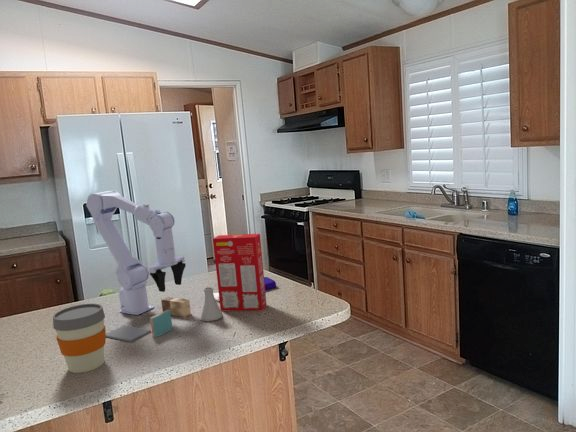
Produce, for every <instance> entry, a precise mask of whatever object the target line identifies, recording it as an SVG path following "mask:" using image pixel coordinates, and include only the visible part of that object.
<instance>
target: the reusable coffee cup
mask: <svg viewBox="0 0 576 432" xmlns="http://www.w3.org/2000/svg"><path fill="white" fill-rule="evenodd" d="M105 318H106V315H105V311H104V307H103V305H102V304H100V303H83V304H77V305H72V306H69V307H66V308H63V309H60V310H58V311H57V312H55V313H54V314H53V316H52V327H53V329H54V330H55V333H56V341H57V345H58V347H59V350H60V353H61V355H62V356H63V358H64V360H65V363H66V364H65V365H66V366H67V369H68V371H69V372H70V373H73V374H79V373H80V374H81V373H87V372H91V371H92V370H95V369H99V368H100V367H101V366H102V365H104V363H105V345H106V343H107V342H106V341H107V340H106V339H107V337H106V324H105V322H104V321H105V320H104V319H105Z"/></svg>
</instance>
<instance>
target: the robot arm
mask: <svg viewBox="0 0 576 432" xmlns="http://www.w3.org/2000/svg"><path fill="white" fill-rule="evenodd" d="M85 206H86V208H87V210H88V212H89V213H90V214H91V217H92V219H93V220H92V221H93V223H94V225H95V227H96V228H97V230H98V232H99V234H100V236H101V237H102V240H104V242H105V244H106V245H107V248H108V249H109V252H110V253H111V254H112V255H111V256H113V258H114V260H115V262H116V264H117V267H116V269H115V271H114V272H115V274H116V276H117V281H118V283H119V286H121V288H120V290H119V292H118V296H119V305H120V310H119V311H118V312H119V313H123V314H130V315H136V316H138V315H140V314H143V313H145V312H147V311H150V310H152V309H153V308H155V305H149V298H148V292H147V283H148V281H147V280H148V279H149V278H150V276H151V278H152V279H153V281H154V282H155V285H156V286H157V289H158V291H159V292H162V293H163V292H164V293H165V292H166V283H165V282H166V274H167V272H166V271H163V270H164V269H167V268H171V272H172V274H173V281H174V284H175V285H176V286H177V285H178V286H181V285H182V280H183V274H184V270H185V268H186V266H187V265H186V262H185V256H184V255H180V256H176V252H175V243H174V235H173V227H174V225H175V217H174V216H173V215H172V213H170V212H169V211H163V212H162V211H161V210H160V209H155V208H153V207H151V206H150V205H149V203H141V204H137V203H135V202H134V201H132V200H130V199H128V198H127V197H124V196H123V195H121V193H120V192H118V191H116V190H113V189H111V190H106V191H101V192H93V193H90V194H89V195H88V197H87V200H86V204H85ZM117 208H118V209H120V210H122V211H125V212H127V213H130V214H133V216H134V219H135V220H137V221H139V222H141V223H143V224H145V225H147V226H149V227H150V228H149V229H150V230H151V231H152V234H153V236H154V241H155V246H156V247H155V248H156V255H157V262H156V263H155V264H153V265H150V266H148V267H147V266H146V265H144V264H143V262H142V261H141V259H138V258H136V257H133V255H132V253H131V252H130V250H129V248H128V246H127V245H126V243H125V241H124V239H123V237H122V236H121V233H119V230H118V229H117V227H116V225H115V224H114V222H113V220H112V218H113V216H114V214H115V212H116V210H117Z"/></svg>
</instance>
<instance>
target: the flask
mask: <svg viewBox="0 0 576 432" xmlns="http://www.w3.org/2000/svg"><path fill="white" fill-rule="evenodd" d="M203 292H204V304H203V307H202V308H203V309H202V311H201V317H200V321H203V322H204V321H205V322H211V321H212V322H213V321H217V320H219V319H221V318H223V311H221V309H220V305H218V301H217V300H215V298H214V295H213V293H214V287H213V286H209V287H208V286H207V287H204V288H203Z"/></svg>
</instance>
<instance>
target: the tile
mask: <svg viewBox="0 0 576 432" xmlns="http://www.w3.org/2000/svg"><path fill="white" fill-rule="evenodd" d="M149 319H150V320H149V321H150V330H151V335H152V336H151V337H153V338H157V337H159V336H161V335H164V334H165V333H167V332H169V331H171V330H173V321H172V315H171V312H170V310H165V311H163V310H162V312H159V313H157V314H155V315H153V316H151V317H150V318H149Z"/></svg>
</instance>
